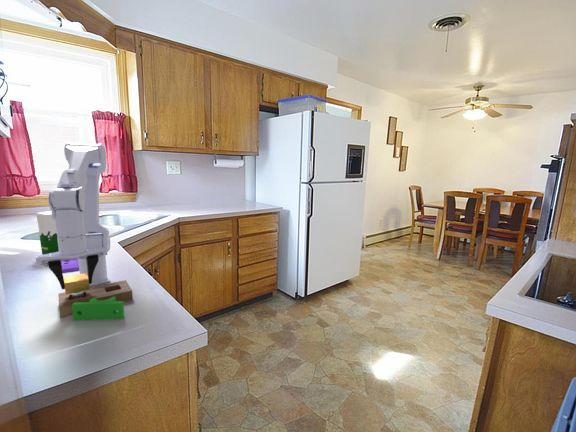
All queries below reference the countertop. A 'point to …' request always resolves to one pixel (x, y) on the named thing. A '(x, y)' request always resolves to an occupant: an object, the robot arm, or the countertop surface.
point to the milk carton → (47, 232)
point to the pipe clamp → (98, 309)
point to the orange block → (76, 285)
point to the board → (96, 295)
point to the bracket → (70, 265)
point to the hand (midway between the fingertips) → (76, 285)
